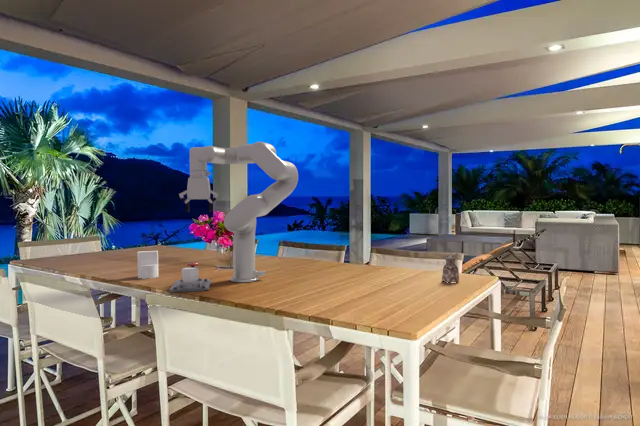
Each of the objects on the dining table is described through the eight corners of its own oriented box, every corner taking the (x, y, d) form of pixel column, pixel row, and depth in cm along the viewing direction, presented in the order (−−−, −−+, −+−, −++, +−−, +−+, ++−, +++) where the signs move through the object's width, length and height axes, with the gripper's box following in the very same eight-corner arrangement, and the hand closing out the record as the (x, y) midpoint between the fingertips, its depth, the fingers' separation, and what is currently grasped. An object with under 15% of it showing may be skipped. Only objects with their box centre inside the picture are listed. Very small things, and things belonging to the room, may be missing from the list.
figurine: (440, 282, 193) (440, 254, 192) (443, 279, 199) (444, 252, 198) (457, 283, 189) (457, 255, 189) (460, 281, 196) (460, 253, 195)
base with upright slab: (158, 274, 214) (158, 249, 213) (158, 278, 205) (157, 252, 205) (138, 276, 211) (137, 250, 211) (137, 279, 203) (136, 253, 202)
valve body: (211, 281, 196) (210, 261, 196) (208, 290, 178) (208, 268, 177) (175, 283, 194) (175, 262, 193) (169, 292, 175) (168, 270, 175)
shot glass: (194, 287, 180) (194, 269, 180) (178, 286, 181) (178, 269, 181) (201, 283, 187) (201, 267, 186) (186, 283, 188) (186, 266, 187)
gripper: (218, 175, 209) (218, 211, 210) (179, 174, 206) (180, 212, 207) (217, 174, 202) (218, 212, 202) (177, 174, 198) (178, 212, 199)
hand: (199, 212), depth 204 cm, fingers open, 9 cm apart
